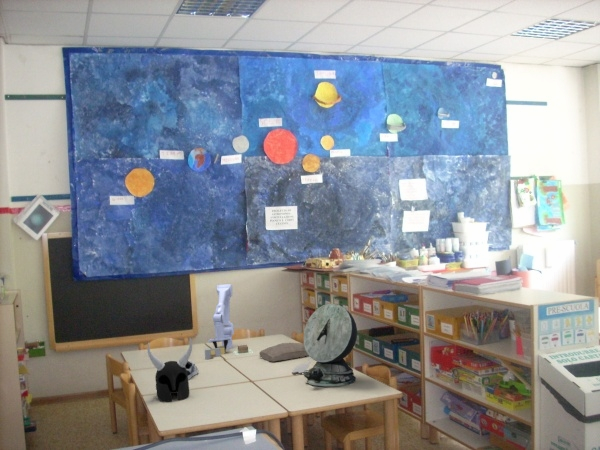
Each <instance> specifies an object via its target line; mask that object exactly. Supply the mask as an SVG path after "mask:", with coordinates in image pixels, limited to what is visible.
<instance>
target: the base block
mask: <svg viewBox="0 0 600 450" xmlns="http://www.w3.org/2000/svg"><path fill="white" fill-rule="evenodd" d="M248 350H249V346H248V345H247V344H243V345H242V344H241V345H237V351H238V353H239V354H240V353H248Z"/></svg>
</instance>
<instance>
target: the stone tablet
mask: <svg viewBox="0 0 600 450" xmlns="http://www.w3.org/2000/svg"><path fill="white" fill-rule="evenodd" d="M258 354H259V356H260V358H261V359H263V360H265V361H267V362H280V361H286V360H292V359H298V358H299V357H300V358H305V356H306V357H310V356H309V355H308V354H307V352H306V350H305V346H304V342H300V343H299V342H283V343H279V344H276V345H273V346H270V347H267V348H265V349H263V350H261V351H259V353H258Z"/></svg>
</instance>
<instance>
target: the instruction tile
mask: <svg viewBox="0 0 600 450" xmlns="http://www.w3.org/2000/svg"><path fill="white" fill-rule="evenodd" d="M217 357H222V354H221V348H215V347H213V348H208V349H204V359H205V360H211V359H212V360H213V359H214V358H217Z"/></svg>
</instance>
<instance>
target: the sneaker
mask: <svg viewBox="0 0 600 450" xmlns="http://www.w3.org/2000/svg"><path fill="white" fill-rule="evenodd" d="M185 368H186V370H187V374H188V381H189V380H190V379H192V377H193V376H194V377H195V376H196V375H197V374H199V368H198V367H197V366H196V363H195V362H193V361H190V360H188V362H187V363H186V365H185Z"/></svg>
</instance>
